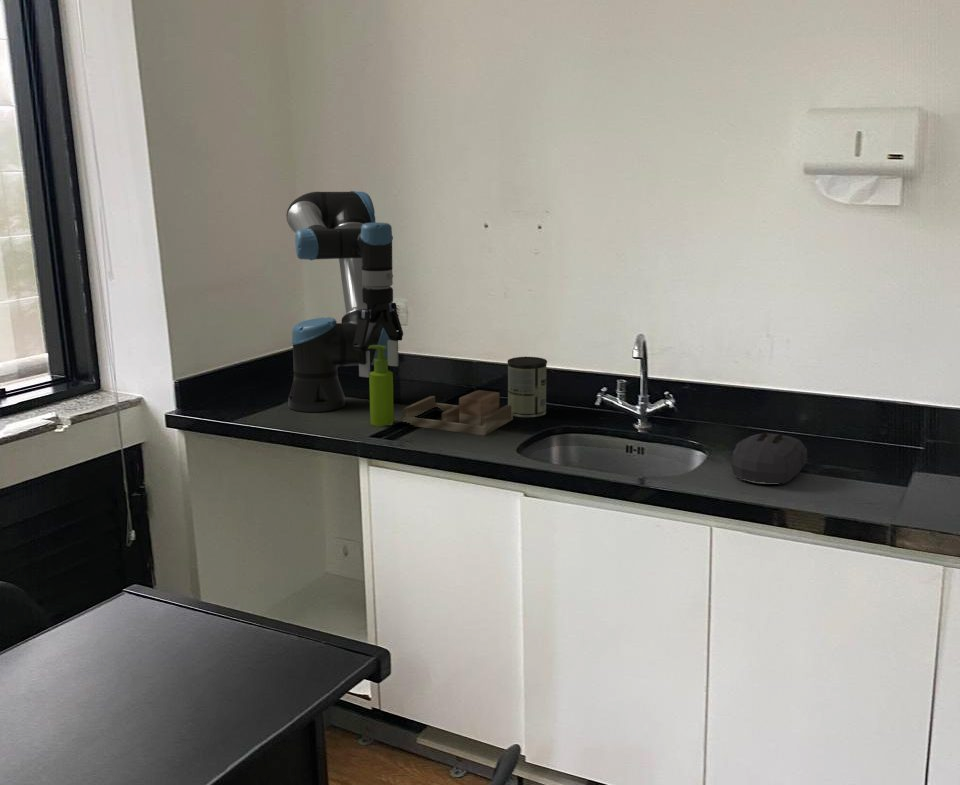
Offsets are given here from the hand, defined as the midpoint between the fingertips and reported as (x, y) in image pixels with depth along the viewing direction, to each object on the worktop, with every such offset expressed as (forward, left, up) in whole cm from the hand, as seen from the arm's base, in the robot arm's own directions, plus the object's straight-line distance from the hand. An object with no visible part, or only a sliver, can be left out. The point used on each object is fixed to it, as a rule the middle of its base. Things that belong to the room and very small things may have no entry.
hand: (379, 371), depth 254 cm
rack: (+17, +9, -13) cm, 24 cm away
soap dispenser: (0, 0, -14) cm, 14 cm away
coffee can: (+29, +26, -14) cm, 41 cm away
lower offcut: (+23, +9, -14) cm, 29 cm away
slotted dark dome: (+96, +1, -14) cm, 97 cm away
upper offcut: (+23, +9, -10) cm, 27 cm away
